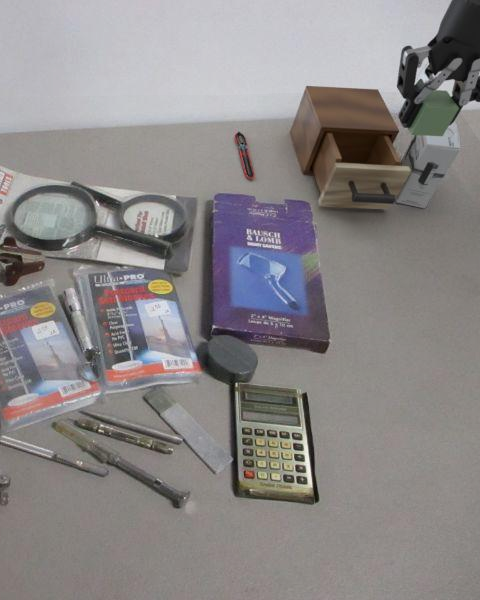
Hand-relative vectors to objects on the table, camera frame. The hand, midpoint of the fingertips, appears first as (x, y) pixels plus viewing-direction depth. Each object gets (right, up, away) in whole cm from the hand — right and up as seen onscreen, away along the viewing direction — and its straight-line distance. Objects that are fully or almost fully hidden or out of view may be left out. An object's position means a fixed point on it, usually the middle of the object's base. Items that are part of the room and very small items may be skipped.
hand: (422, 124), depth 80 cm
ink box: (+10, -5, +22) cm, 24 cm away
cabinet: (-1, +3, +28) cm, 28 cm away
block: (0, 0, 0) cm, 0 cm away
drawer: (-1, -6, +19) cm, 20 cm away
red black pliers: (-17, +2, +27) cm, 31 cm away
